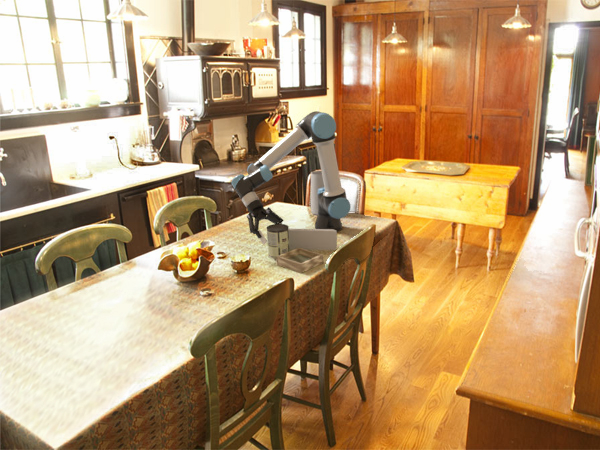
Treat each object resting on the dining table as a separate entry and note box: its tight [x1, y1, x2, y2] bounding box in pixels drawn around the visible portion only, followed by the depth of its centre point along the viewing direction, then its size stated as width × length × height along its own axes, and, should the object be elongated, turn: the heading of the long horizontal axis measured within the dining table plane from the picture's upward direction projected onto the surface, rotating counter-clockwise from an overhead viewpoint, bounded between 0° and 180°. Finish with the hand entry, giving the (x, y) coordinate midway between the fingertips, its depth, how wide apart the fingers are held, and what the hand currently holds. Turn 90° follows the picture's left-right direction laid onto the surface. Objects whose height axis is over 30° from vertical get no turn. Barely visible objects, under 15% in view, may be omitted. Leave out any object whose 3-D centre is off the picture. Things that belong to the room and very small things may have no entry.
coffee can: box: [266, 223, 290, 260], centre depth 230 cm, size 10×10×14 cm
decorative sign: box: [288, 228, 338, 251], centre depth 239 cm, size 32×4×10 cm, turn 83°
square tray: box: [276, 248, 324, 274], centre depth 220 cm, size 15×15×4 cm
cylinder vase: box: [310, 170, 324, 216], centre depth 296 cm, size 12×12×25 cm
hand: (275, 239), depth 230 cm, fingers open, 13 cm apart
